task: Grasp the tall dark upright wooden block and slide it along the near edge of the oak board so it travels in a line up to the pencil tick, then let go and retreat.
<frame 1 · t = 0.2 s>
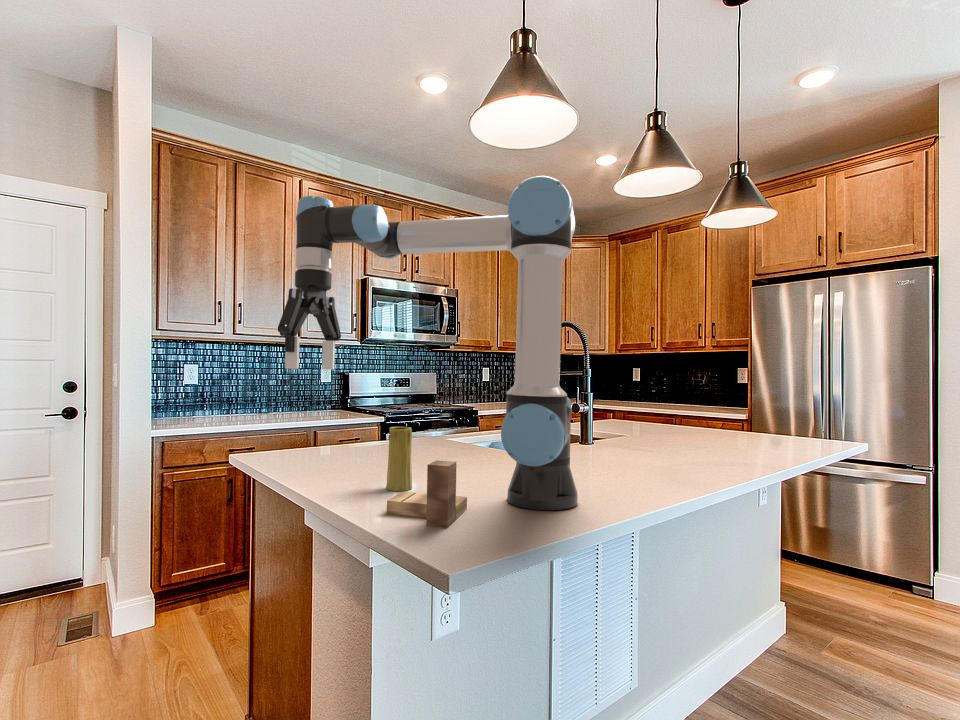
hand: (311, 369, 113), 28 cm above the table, fingers open, 13 cm apart
board: (427, 511, 104), on the table
upright wooden block: (441, 523, 96), on the table
vase: (399, 489, 124), on the table
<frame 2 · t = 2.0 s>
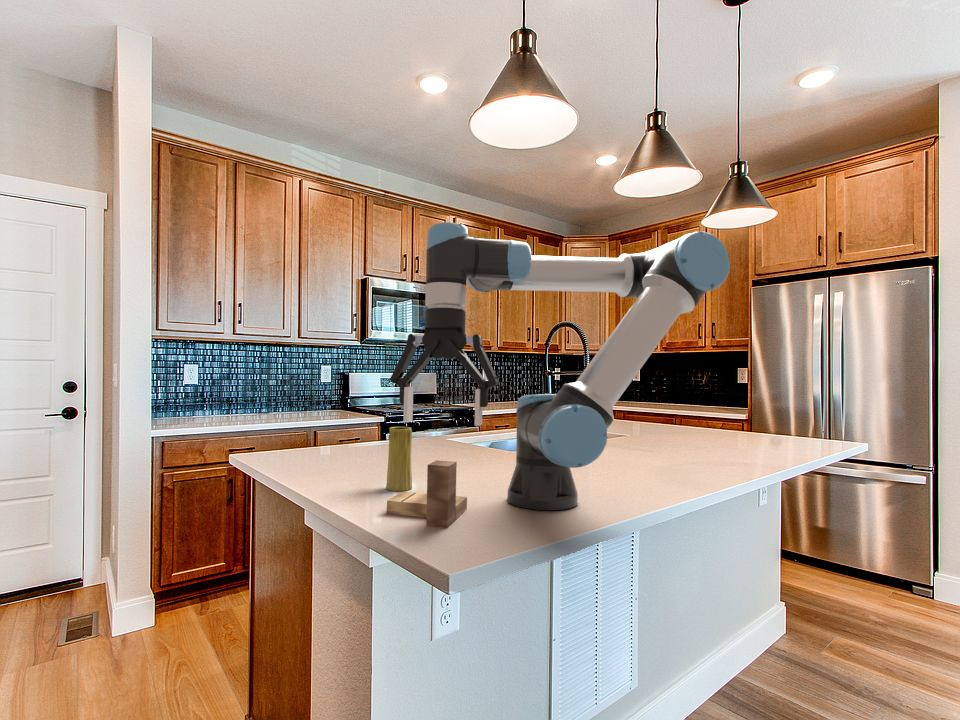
hand: (442, 423, 97), 18 cm above the table, fingers open, 13 cm apart
nothing on the table moved.
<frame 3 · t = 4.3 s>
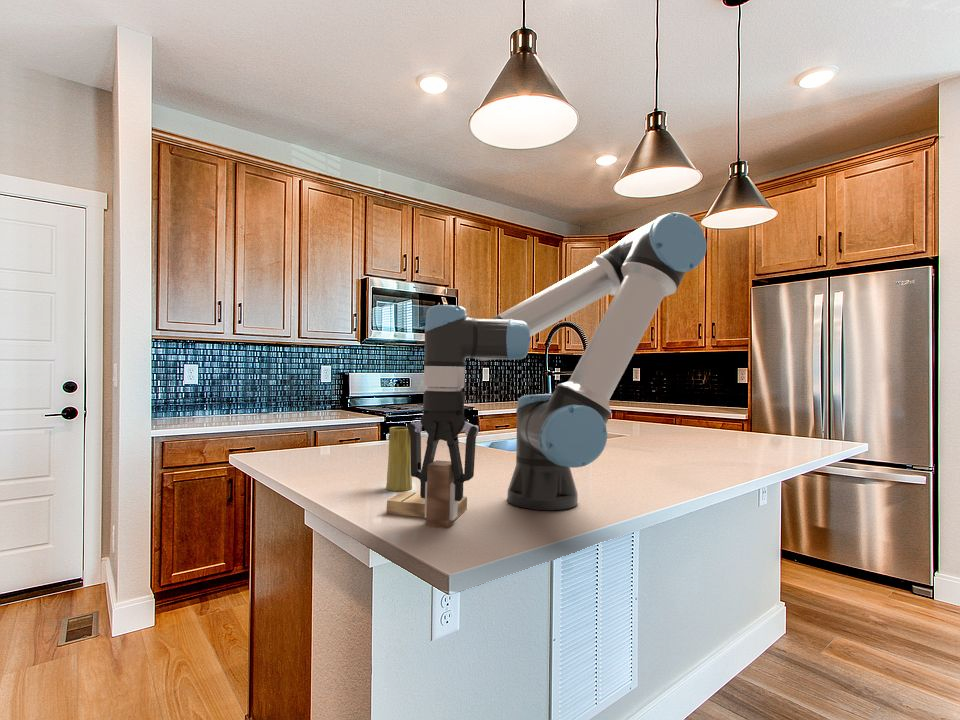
hand: (441, 516, 96), 1 cm above the table, fingers closed on upright wooden block, 4 cm apart
upright wooden block: (441, 523, 96), on the table, touching gripper
everything else where it was.
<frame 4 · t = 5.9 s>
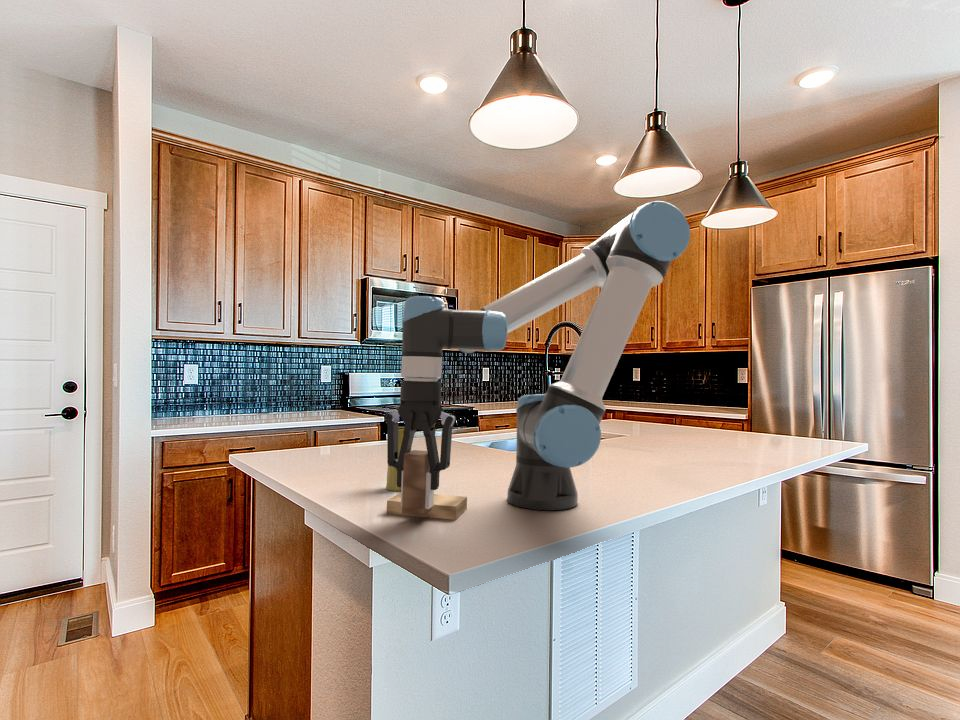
hand: (417, 505, 97), 3 cm above the table, fingers closed on upright wooden block, 4 cm apart
upright wooden block: (417, 512, 97), point 2 cm above the table, touching gripper
everything else where it was.
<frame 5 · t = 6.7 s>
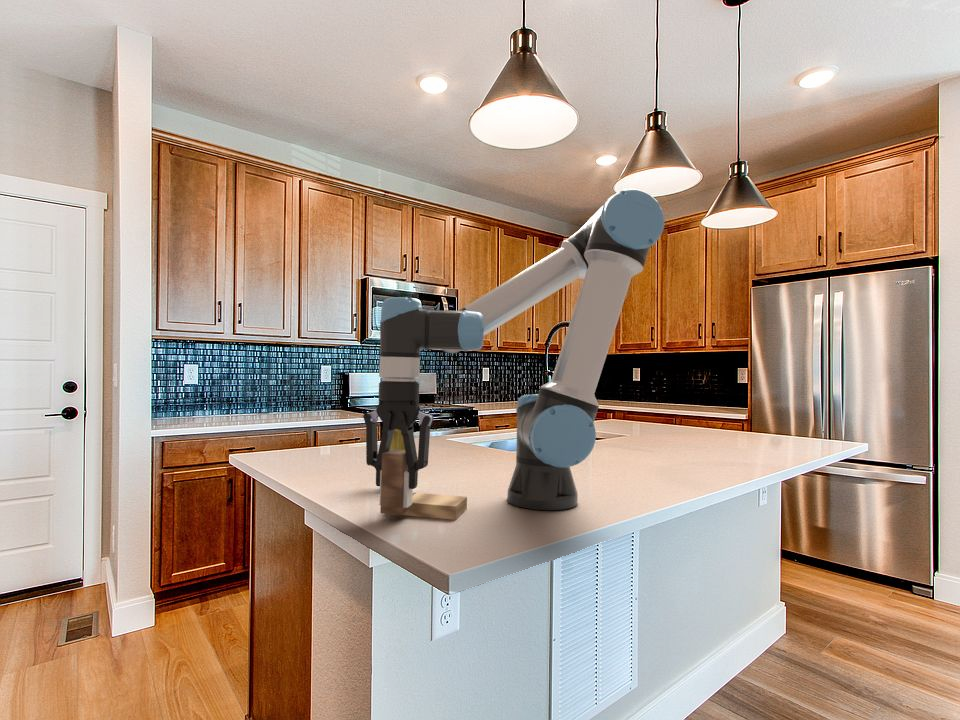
hand: (395, 504, 99), 3 cm above the table, fingers closed on upright wooden block, 4 cm apart
upright wooden block: (395, 510, 99), point 2 cm above the table, touching gripper
everything else where it was.
when the fingers open (1 cm above the table, at t = 7.6 s): upright wooden block stays where it is, on the table.
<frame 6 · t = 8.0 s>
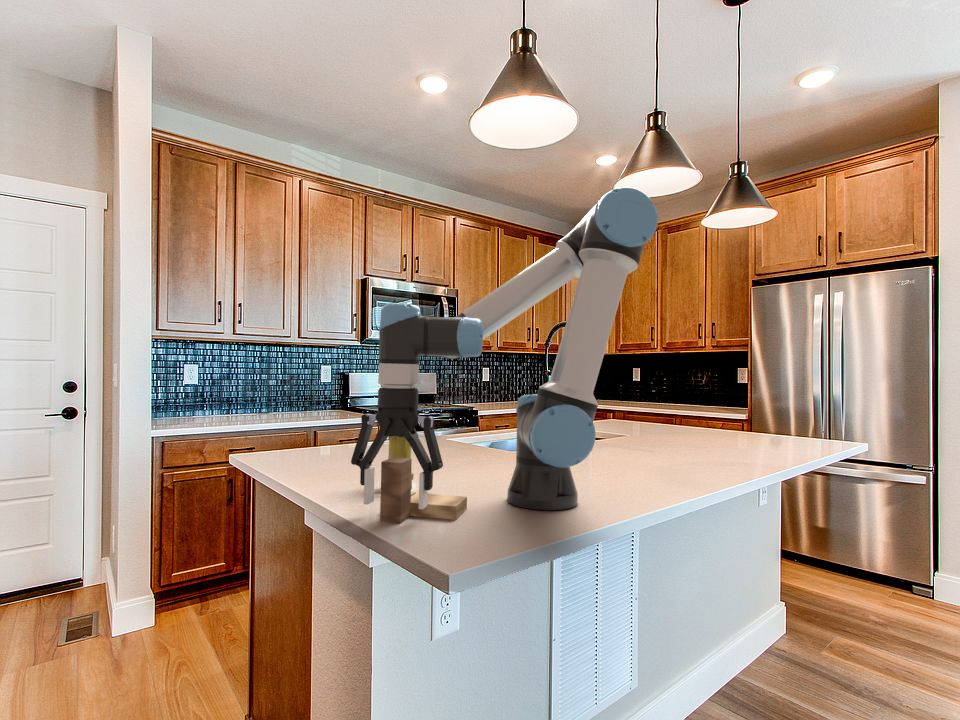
hand: (395, 505, 99), 3 cm above the table, fingers open, 10 cm apart
upright wooden block: (395, 519, 99), on the table
everything else where it was.
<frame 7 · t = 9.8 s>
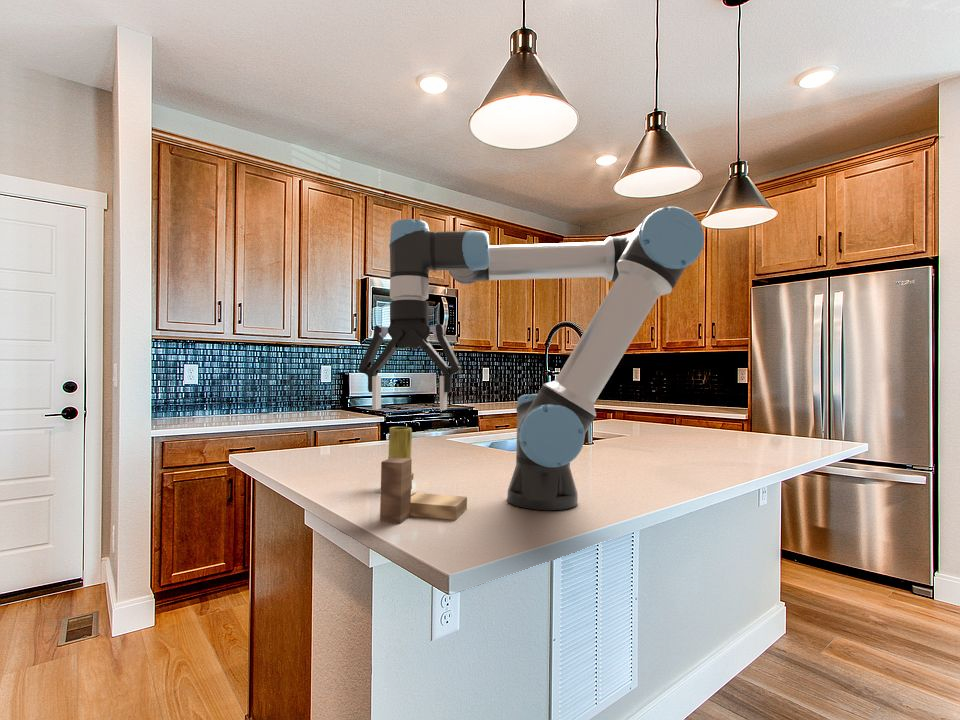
hand: (409, 409, 102), 20 cm above the table, fingers open, 13 cm apart
nothing on the table moved.
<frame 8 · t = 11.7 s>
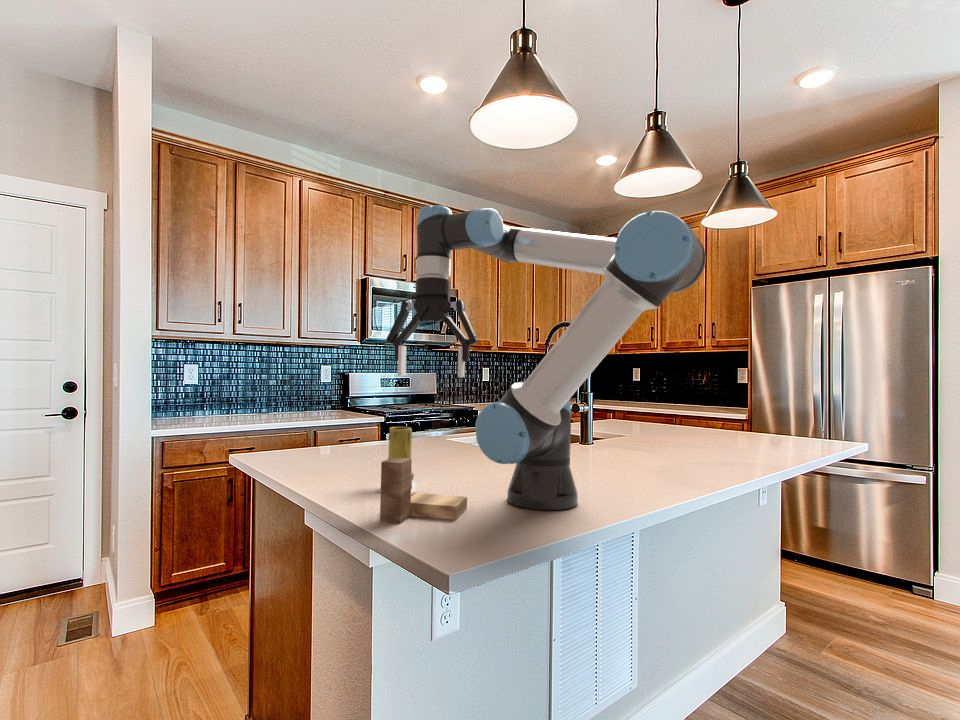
hand: (431, 376, 114), 27 cm above the table, fingers open, 13 cm apart
nothing on the table moved.
at the end: upright wooden block 0.3 cm from the target spot, on the table; upright wooden block tilted 0°; the gripper is holding nothing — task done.
